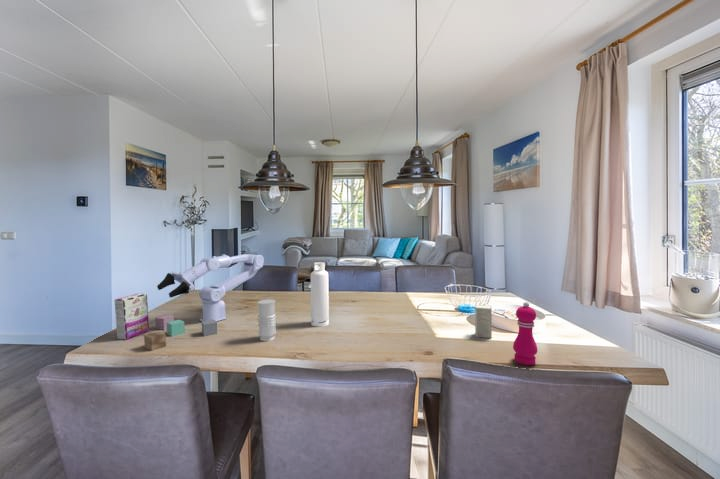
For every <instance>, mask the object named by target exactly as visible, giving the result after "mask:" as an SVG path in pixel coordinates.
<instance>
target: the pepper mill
mask: <svg viewBox="0 0 720 479" xmlns="http://www.w3.org/2000/svg"><path fill="white" fill-rule="evenodd" d="M515 316H516V318H517V322H516V323H517V326H518V334H517V336H516V338H515V339H514V341H513V343H512V344H513V346H512V349H513V351H514V352H515V353H514V358H513V359H514V361H515V362H517V363H519V364H520V365H525V366H531V365H535V364H536V356H535V355H537V353H538V346H537V342H536V340H535V338H534V336H533V335H534V334H533V328H534V327H535V320H536V318H537V312H536V310H535V309H534V308H532V307H530V303H529V302H528V301H524V302H523V304H522V306H518V308H517V309H516V311H515Z"/></svg>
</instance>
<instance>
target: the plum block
mask: <svg viewBox="0 0 720 479" xmlns="http://www.w3.org/2000/svg"><path fill="white" fill-rule="evenodd" d="M154 319H155V320H154V322H155V330H161V331H165V329H166V330H167V322H170V321H175V315H170V314H163V315H160V316H156V317H155V318H154Z"/></svg>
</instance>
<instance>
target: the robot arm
mask: <svg viewBox="0 0 720 479" xmlns="http://www.w3.org/2000/svg"><path fill="white" fill-rule="evenodd" d="M236 263H237V264H238V263H243V270H242V271H240V272H239V273H236V274H235V275H233V276H231V277H229V278H226V279H225V280H223V281H221V282H219V283H217V284H212V285H210V286H203V287H202V288H201V289H199V292H198V297H199V298H200V299H201V302H202V318H200V319H199V321H200V322H202V321H208V320H215V321H216V322H219V321H224V320H226V319H227V317H226V316H227V315H226V303H225V301H224V300H222V298H223V297H224V296H226V293H227V292H228V291H230V290H233V289H234V288H236V287H237V286H239V285H241V284H243V283H245V282H246V281H248V280H250V279H252V278H253V277H254V276H255V275H256V274H257V273H258V271H259V270H260V269H262V268H263V267H264V263H265V258H264V256H263V255H261V254H251V253H249V254H248V253H243V254H240V255H239V254H238V255H234V256H229V255H227V254H223V253H222V254H221V255H220V256H216V255H214V256H212V257H205V258H204V257H203V258H202V259H201V260H200V262H198V263H197V264H194V265H193V266H191V267H190V268H188V269H186V270H184V271H183V272H179V273H177V272H174V271H171V272H168V273H167V274H166V276H164V278H163V280H161V282H160V283H159V284H157V286H156V287H157V290H158V291H161V290H163V289H164V288H166V287H169V286H171V285H175V284H176V282H178V283H179V285H178V286H177V287H176V288H174V289H173V290H171V291H170V292H168V296H169V298H174V297H176V296H181V295H185V294H189V293H190V291H193V290H195V288H196V287H195V284H193V282H194V281H197V280H199V279H200V278H201V277H203V276H205V275H206V274H207V273H209V272H210V271H213V272H214V271H215V272H216V270H219V269H224V268H229V267H230V266H231V265H232V264H236ZM175 281H176V282H175Z"/></svg>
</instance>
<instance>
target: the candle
mask: <svg viewBox="0 0 720 479" xmlns="http://www.w3.org/2000/svg"><path fill="white" fill-rule="evenodd" d="M257 304H258V316H257V317H258V319H257V320H258V321H257V322H258V323H257V326H258V336H260V338H259V340H260V341H262V342H270V341H273V340H275V339H276V336H275V335H276V333H277V330H276V325H277V323H276V322H277V314H276V300H275V299H271V298H270V299H261V300H259V301H258V302H257Z"/></svg>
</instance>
